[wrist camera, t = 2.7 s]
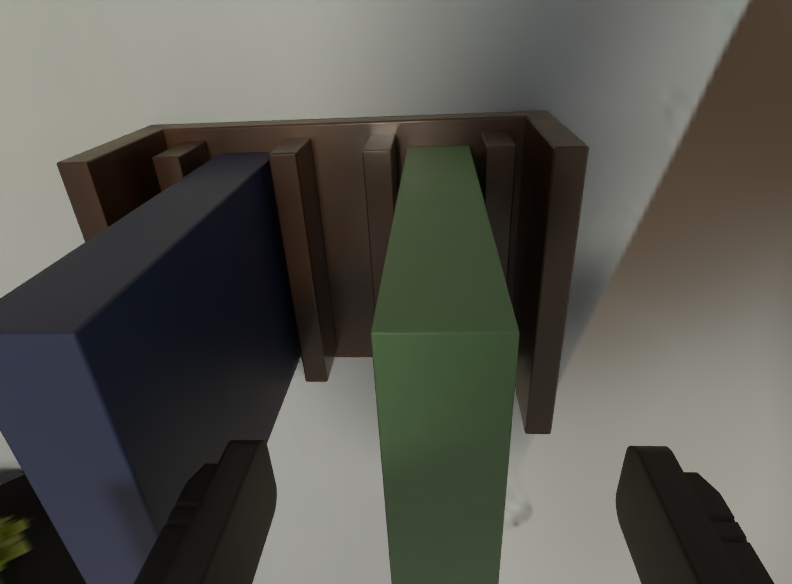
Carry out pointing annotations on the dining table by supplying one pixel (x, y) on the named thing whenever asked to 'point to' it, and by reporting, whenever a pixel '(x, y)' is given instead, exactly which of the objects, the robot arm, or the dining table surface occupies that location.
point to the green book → (443, 375)
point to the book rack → (375, 216)
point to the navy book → (148, 359)
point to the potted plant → (31, 540)
